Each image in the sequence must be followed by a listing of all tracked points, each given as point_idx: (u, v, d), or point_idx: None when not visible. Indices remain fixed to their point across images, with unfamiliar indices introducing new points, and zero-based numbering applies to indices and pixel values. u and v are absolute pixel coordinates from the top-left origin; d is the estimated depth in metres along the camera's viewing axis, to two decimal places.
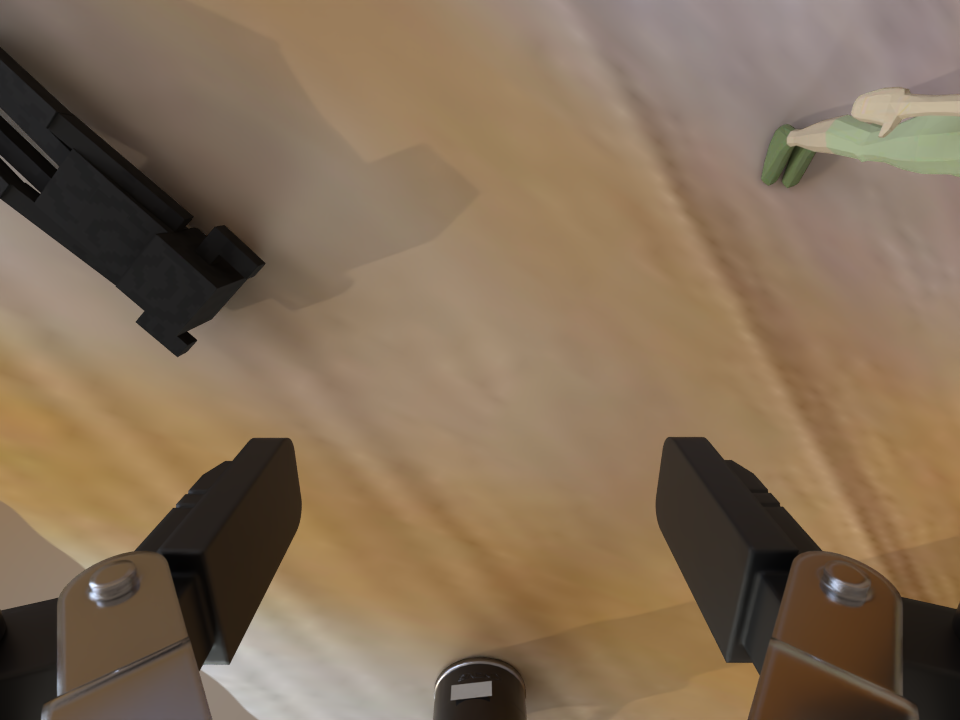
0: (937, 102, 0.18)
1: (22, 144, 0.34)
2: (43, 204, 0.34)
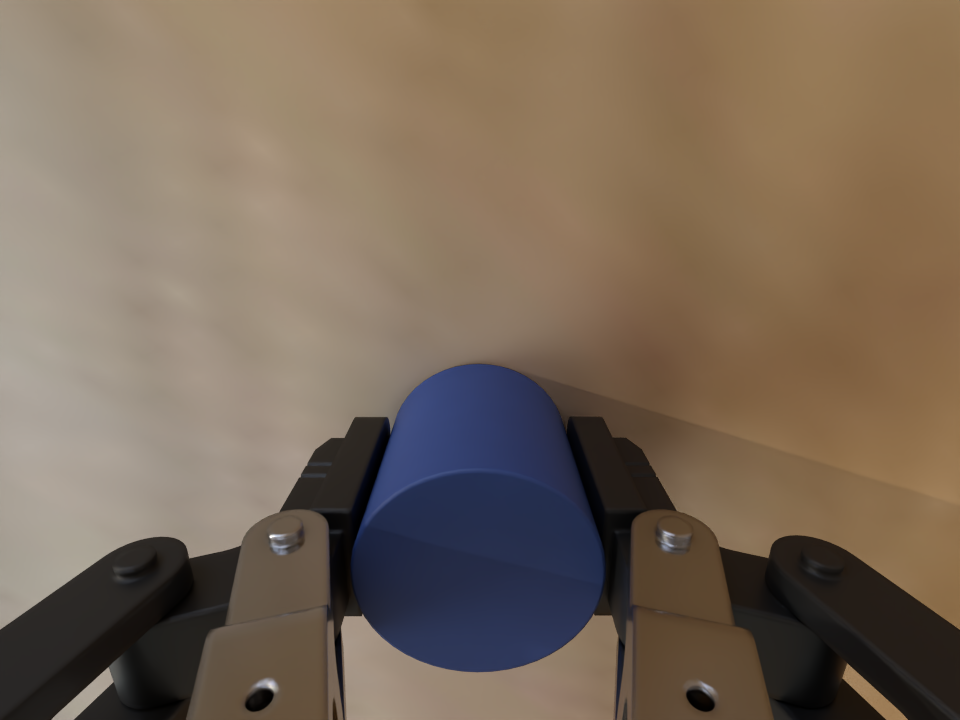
0: None
1: None
2: None
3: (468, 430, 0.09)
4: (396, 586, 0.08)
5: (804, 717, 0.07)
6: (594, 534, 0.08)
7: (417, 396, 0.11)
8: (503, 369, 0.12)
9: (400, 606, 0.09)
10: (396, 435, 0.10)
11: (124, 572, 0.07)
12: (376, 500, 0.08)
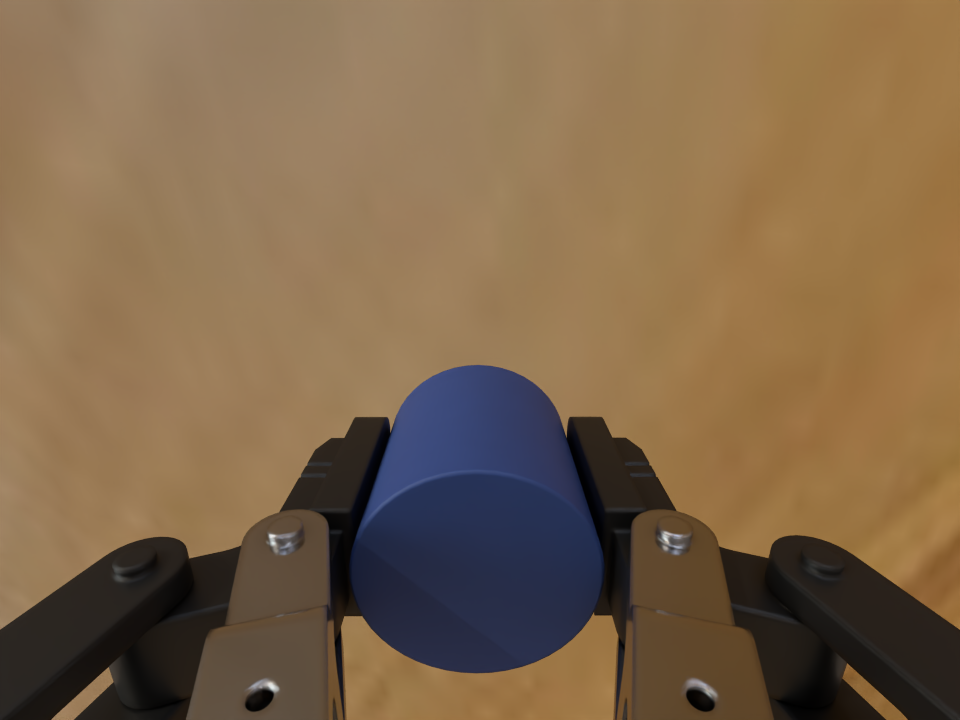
0: None
1: None
2: None
3: (467, 431, 0.09)
4: (395, 587, 0.08)
5: (804, 717, 0.07)
6: (593, 535, 0.08)
7: (416, 397, 0.11)
8: (502, 370, 0.12)
9: (399, 607, 0.09)
10: (395, 436, 0.10)
11: (124, 572, 0.07)
12: (375, 501, 0.08)
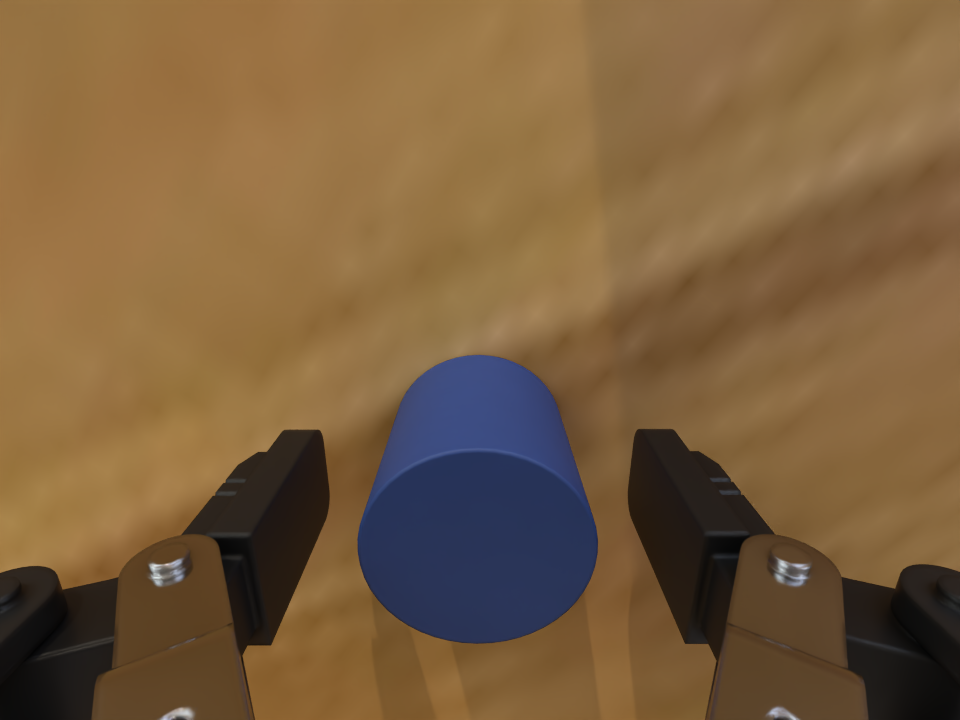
0: None
1: None
2: None
3: (468, 415, 0.09)
4: (401, 560, 0.09)
5: None
6: (586, 511, 0.09)
7: (419, 385, 0.12)
8: (502, 360, 0.12)
9: (404, 579, 0.09)
10: (400, 421, 0.11)
11: None
12: (382, 479, 0.09)
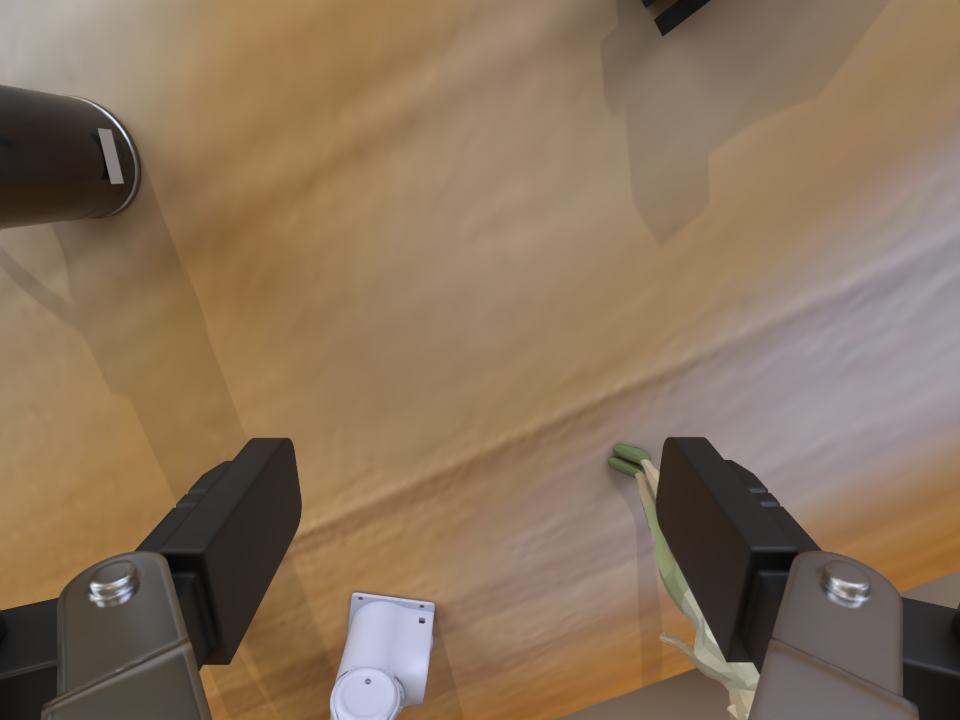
0: None
1: None
2: None
3: None
4: None
5: None
6: None
7: None
8: None
9: None
10: None
11: None
12: None
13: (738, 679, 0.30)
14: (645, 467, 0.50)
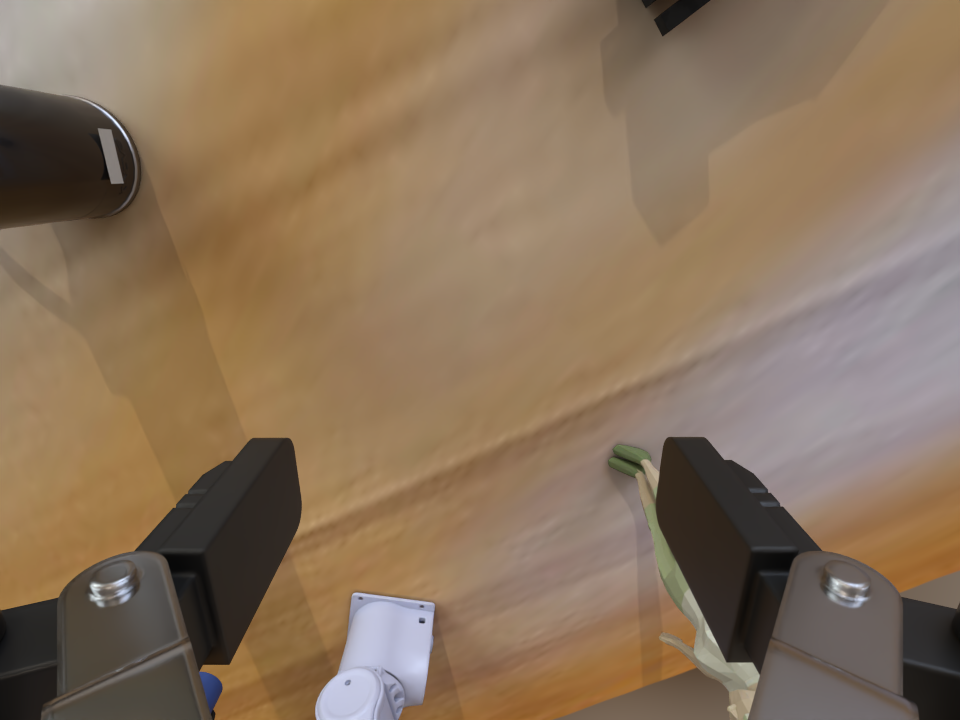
0: None
1: None
2: None
3: None
4: None
5: None
6: None
7: None
8: None
9: None
10: None
11: None
12: None
13: (738, 679, 0.30)
14: (645, 467, 0.50)
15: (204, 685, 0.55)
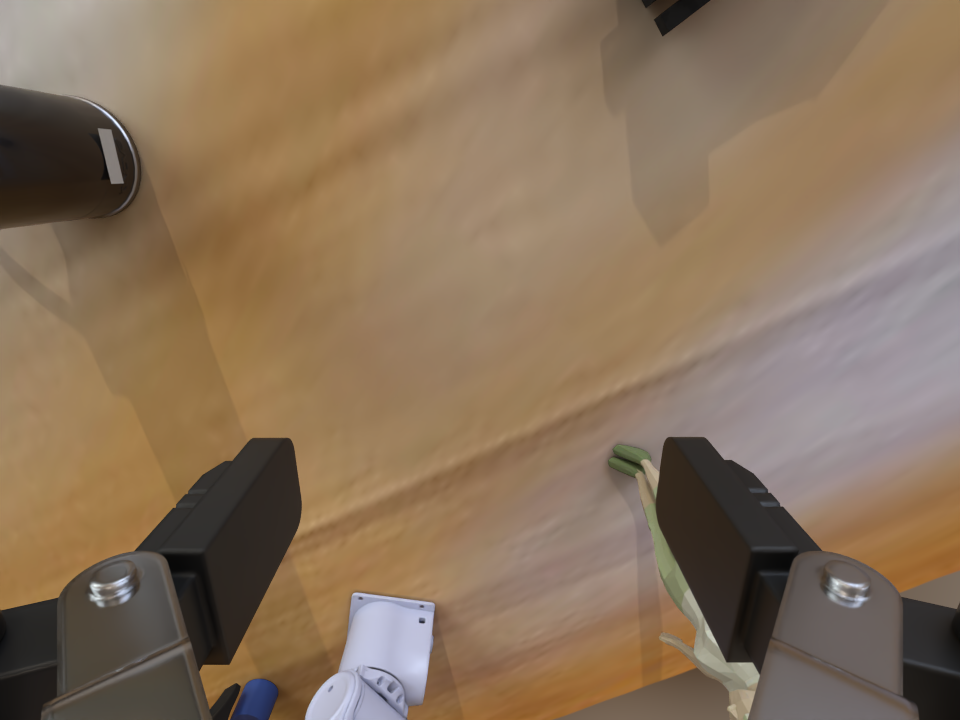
0: None
1: None
2: None
3: (235, 708, 0.61)
4: None
5: None
6: (249, 715, 0.60)
7: None
8: (250, 681, 0.64)
9: None
10: None
11: None
12: None
13: (738, 679, 0.30)
14: (645, 467, 0.50)
15: (257, 689, 0.63)
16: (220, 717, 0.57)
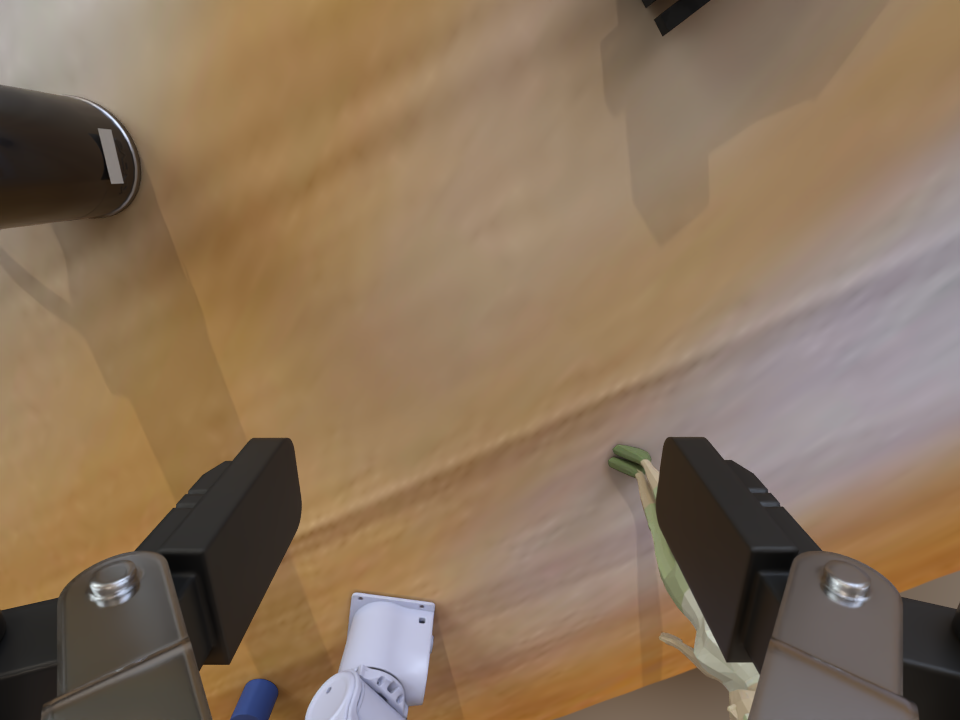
0: None
1: None
2: None
3: (235, 708, 0.61)
4: None
5: None
6: (249, 715, 0.60)
7: None
8: (250, 681, 0.64)
9: None
10: None
11: None
12: None
13: (738, 679, 0.30)
14: (645, 467, 0.50)
15: (257, 689, 0.63)
16: None
